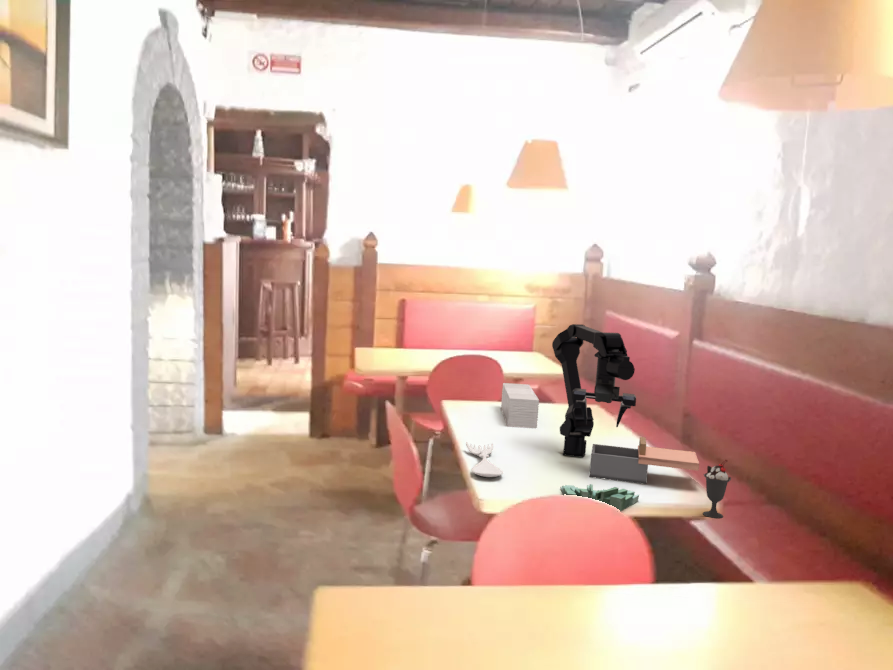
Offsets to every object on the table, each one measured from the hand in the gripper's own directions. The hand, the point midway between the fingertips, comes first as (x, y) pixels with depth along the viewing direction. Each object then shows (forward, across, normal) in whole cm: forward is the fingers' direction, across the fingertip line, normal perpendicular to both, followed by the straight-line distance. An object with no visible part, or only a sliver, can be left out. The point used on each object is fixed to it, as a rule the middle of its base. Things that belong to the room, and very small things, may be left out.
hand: (601, 425), depth 235 cm
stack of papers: (+14, -32, +58) cm, 67 cm away
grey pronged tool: (+14, -33, -14) cm, 38 cm away
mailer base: (+13, +6, -6) cm, 16 cm away
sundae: (+13, +30, -33) cm, 47 cm away
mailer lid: (+7, +19, -6) cm, 22 cm away
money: (+14, +2, -33) cm, 36 cm away
